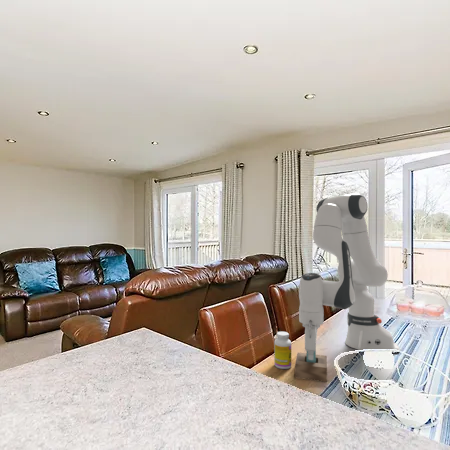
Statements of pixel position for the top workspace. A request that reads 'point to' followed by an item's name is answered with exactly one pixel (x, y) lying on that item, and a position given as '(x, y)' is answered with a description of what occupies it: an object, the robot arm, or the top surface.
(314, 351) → the teal peg
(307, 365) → the socket block
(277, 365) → the supplement bottle
